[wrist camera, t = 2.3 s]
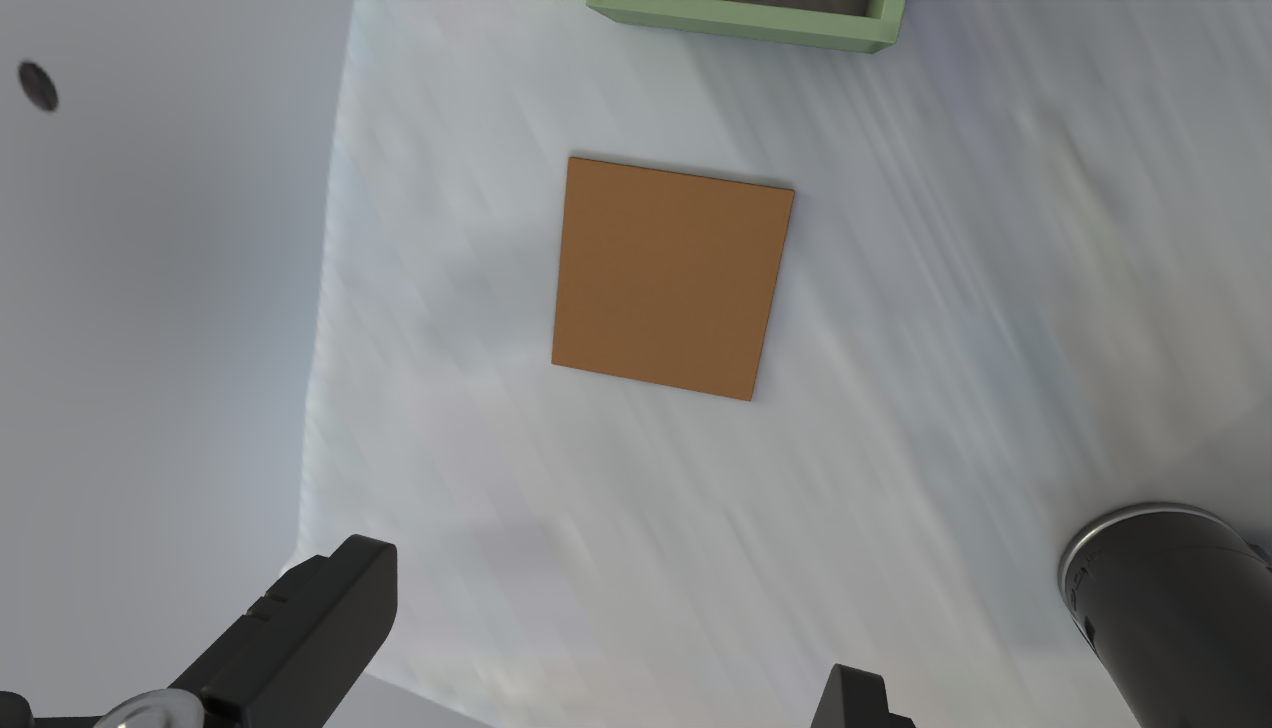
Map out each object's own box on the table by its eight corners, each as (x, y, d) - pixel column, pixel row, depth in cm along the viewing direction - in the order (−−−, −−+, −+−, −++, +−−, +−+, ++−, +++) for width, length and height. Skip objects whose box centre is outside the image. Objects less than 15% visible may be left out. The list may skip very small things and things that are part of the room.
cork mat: (794, 190, 35) (795, 191, 34) (750, 398, 39) (750, 401, 39) (570, 156, 36) (568, 157, 36) (553, 361, 41) (551, 364, 40)
